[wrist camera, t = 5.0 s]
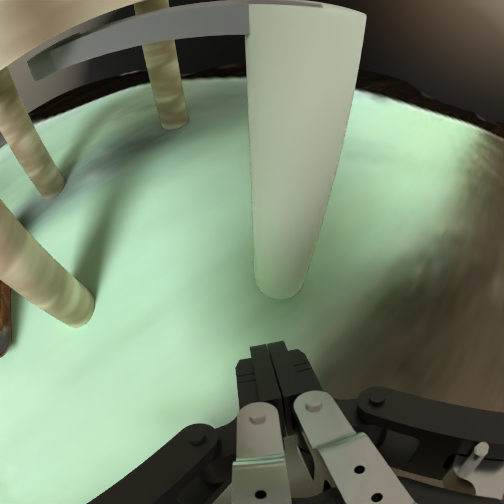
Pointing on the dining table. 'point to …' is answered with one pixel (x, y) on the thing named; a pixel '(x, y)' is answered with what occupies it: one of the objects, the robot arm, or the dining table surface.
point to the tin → (5, 318)
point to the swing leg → (264, 108)
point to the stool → (36, 156)
